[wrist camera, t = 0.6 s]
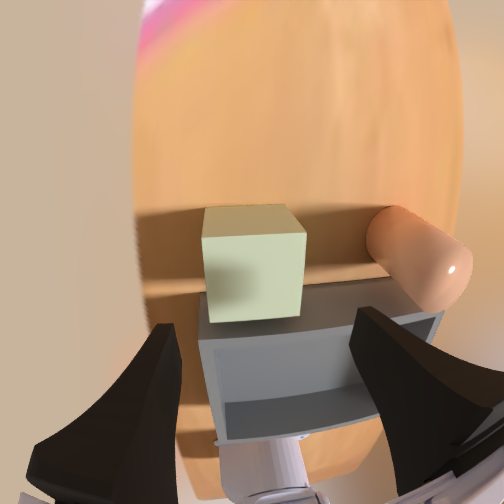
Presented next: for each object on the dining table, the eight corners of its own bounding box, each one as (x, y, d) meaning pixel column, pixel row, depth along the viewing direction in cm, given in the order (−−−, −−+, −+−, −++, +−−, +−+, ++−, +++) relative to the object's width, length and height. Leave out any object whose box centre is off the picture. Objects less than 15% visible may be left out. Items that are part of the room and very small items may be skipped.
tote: (216, 402, 26) (218, 443, 21) (200, 292, 20) (197, 339, 16) (376, 378, 28) (394, 411, 23) (413, 273, 22) (446, 306, 17)
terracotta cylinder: (379, 272, 21) (427, 325, 15) (355, 231, 20) (408, 280, 13) (420, 238, 20) (476, 280, 14) (401, 193, 19) (466, 228, 12)
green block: (210, 277, 20) (210, 322, 15) (205, 207, 18) (201, 237, 13) (281, 272, 20) (299, 315, 16) (284, 203, 18) (307, 232, 14)
